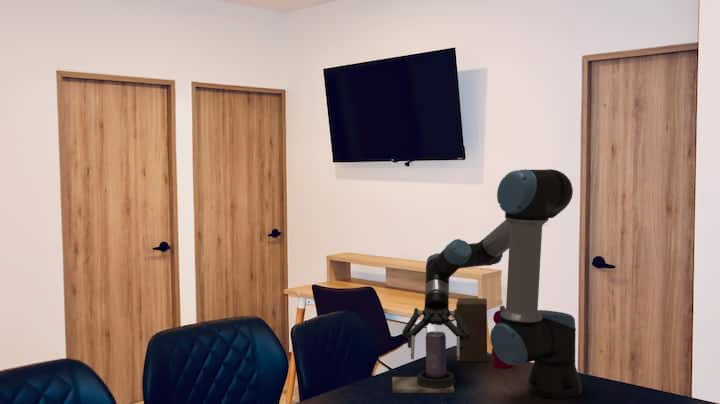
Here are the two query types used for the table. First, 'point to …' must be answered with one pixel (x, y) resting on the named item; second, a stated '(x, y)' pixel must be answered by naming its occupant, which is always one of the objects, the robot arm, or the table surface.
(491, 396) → the table surface
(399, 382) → the band board
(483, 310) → the wooden block
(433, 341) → the beverage can
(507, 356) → the robot arm
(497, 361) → the pepper mill
